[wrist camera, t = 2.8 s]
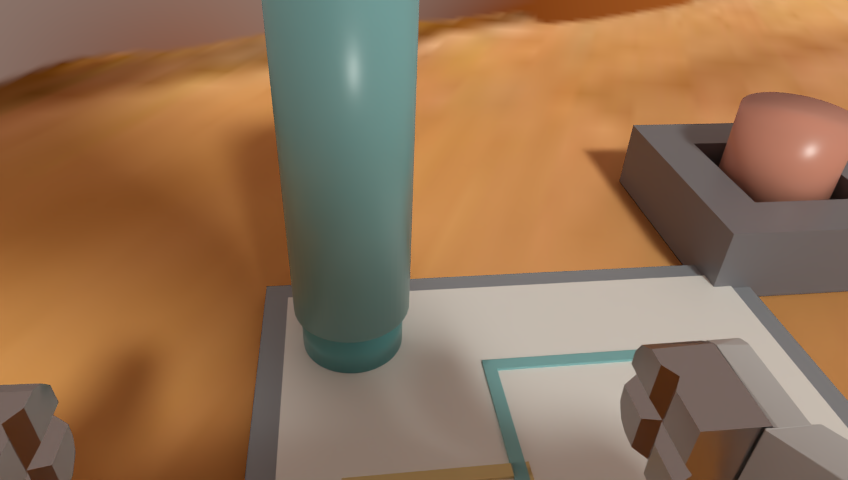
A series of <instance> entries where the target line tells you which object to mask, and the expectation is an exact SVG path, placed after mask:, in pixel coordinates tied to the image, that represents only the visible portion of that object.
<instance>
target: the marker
mask: <svg viewBox="0 0 848 480" xmlns="http://www.w3.org/2000/svg"><path fill="white" fill-rule="evenodd" d="M262 9H263V18H264V28H265V37H266V47H267V56H268V66H269V76H270V85H271V95H272V104H273V114H274V123H275V133H276V142H277V152H278V161H279V171H280V180H281V190H282V199H283V209H284V219H285V228H286V238H287V247H288V257H289V266H290V276H291V285H292V295H293V304H294V312H295V316H296V318H297V320H298V321H299V323H300V324H301V325H302V328H303V339H304V346H305V350H306V352H307V354H308V355H309V357H310V358H311V359H312V360H313V361H314V362H315V363H317V364H318V365H320V366H321V367H323V368H326V369H328V370H331V371H334V372H339V373H362V372H367V371H370V370H373V369H376V368H378V367H380V366H382V365H384V364H386V363H387V362H388V361H390V360H391V359H392V358H393V357H394V356H395V354H396V353H397V352H398V350H399V348H400V345H401V341H402V321H403V320H404V318H405V316H406V315H407V312H408V309H409V292H410V262H411V232H412V201H413V171H414V141H415V111H416V80H417V50H418V20H419V0H262Z"/></svg>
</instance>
